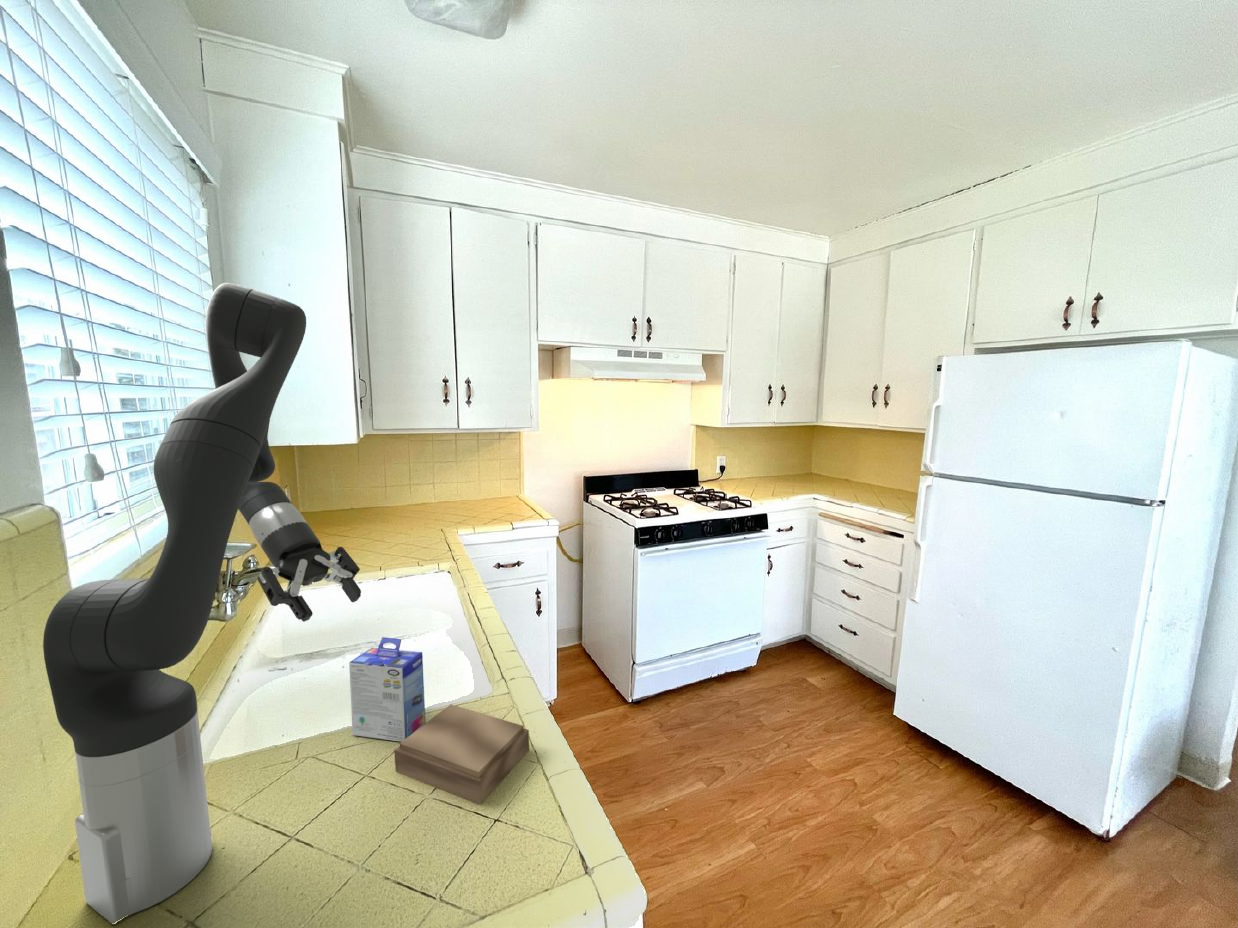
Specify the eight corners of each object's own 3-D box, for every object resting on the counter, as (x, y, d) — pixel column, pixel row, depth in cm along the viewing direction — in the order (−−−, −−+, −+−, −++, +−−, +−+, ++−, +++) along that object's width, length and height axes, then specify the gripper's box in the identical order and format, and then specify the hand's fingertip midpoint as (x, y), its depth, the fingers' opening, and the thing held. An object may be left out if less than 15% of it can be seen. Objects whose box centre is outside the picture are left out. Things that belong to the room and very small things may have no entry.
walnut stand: (480, 804, 61) (479, 775, 61) (395, 771, 67) (393, 744, 67) (529, 749, 71) (528, 724, 71) (451, 725, 77) (450, 701, 77)
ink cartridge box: (428, 721, 78) (423, 637, 77) (407, 744, 73) (401, 654, 72) (375, 714, 80) (370, 632, 79) (351, 736, 75) (344, 648, 74)
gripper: (247, 530, 75) (299, 611, 72) (332, 513, 88) (381, 581, 85) (230, 559, 78) (280, 639, 74) (316, 538, 91) (362, 605, 87)
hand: (334, 608), depth 80 cm, fingers open, 8 cm apart
